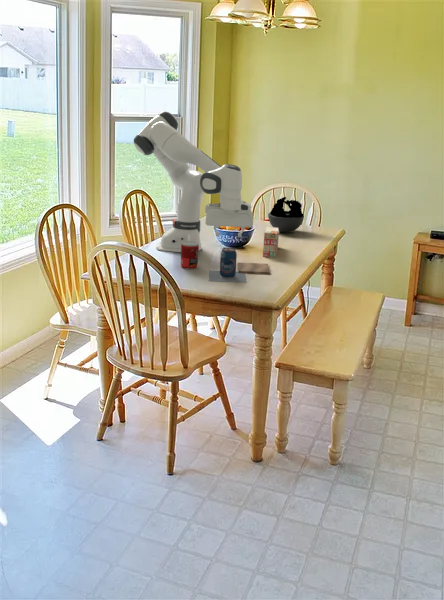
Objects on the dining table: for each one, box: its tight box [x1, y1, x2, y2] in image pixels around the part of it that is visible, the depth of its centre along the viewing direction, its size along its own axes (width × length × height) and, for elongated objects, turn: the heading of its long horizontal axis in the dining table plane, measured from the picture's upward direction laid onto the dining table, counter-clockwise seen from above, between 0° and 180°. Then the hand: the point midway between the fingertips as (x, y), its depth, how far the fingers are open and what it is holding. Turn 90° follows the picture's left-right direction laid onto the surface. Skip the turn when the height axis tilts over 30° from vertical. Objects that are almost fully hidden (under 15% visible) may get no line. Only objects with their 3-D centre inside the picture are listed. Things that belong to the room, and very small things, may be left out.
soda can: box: [219, 247, 238, 278], centre depth 293 cm, size 7×7×12 cm
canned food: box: [180, 241, 200, 270], centre depth 305 cm, size 8×8×11 cm
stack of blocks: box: [262, 226, 280, 258], centre depth 338 cm, size 21×6×12 cm, turn 172°
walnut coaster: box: [236, 261, 271, 275], centre depth 308 cm, size 14×14×1 cm
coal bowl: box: [267, 196, 305, 234], centre depth 380 cm, size 20×20×19 cm
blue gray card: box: [208, 269, 247, 284], centre depth 295 cm, size 16×16×1 cm
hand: (228, 236), depth 289 cm, fingers open, 8 cm apart
